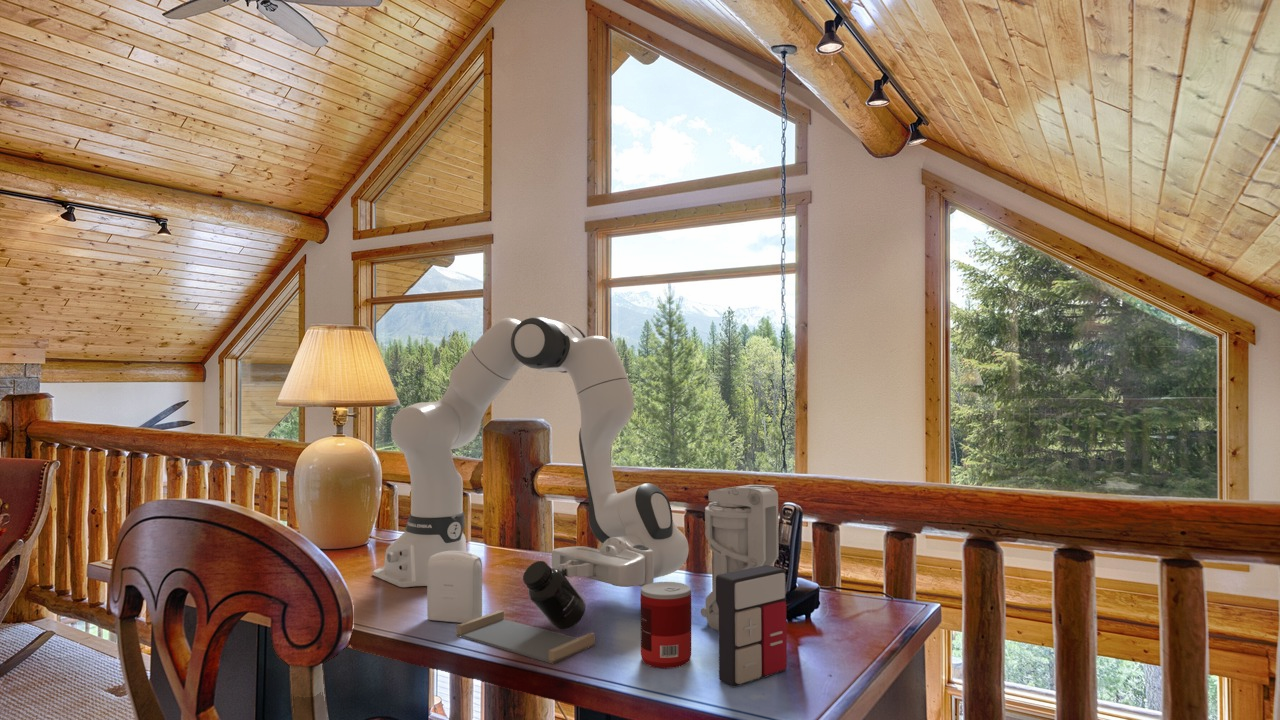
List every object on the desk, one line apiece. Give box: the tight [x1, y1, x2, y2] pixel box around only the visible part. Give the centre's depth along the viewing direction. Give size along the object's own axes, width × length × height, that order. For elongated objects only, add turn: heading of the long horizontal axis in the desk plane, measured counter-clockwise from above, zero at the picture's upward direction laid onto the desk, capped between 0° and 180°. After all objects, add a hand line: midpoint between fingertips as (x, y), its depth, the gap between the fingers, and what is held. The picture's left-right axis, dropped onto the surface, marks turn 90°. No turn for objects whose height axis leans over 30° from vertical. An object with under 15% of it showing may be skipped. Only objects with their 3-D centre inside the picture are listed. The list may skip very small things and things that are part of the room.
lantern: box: [700, 484, 780, 632], centre depth 130 cm, size 13×10×25 cm
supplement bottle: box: [522, 560, 587, 631], centre depth 126 cm, size 7×7×12 cm
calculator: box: [716, 565, 788, 688], centre depth 107 cm, size 11×4×15 cm, turn 126°
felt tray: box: [456, 609, 596, 665], centre depth 122 cm, size 22×10×2 cm, turn 55°
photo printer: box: [426, 551, 483, 624], centre depth 133 cm, size 10×4×12 cm, turn 74°
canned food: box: [640, 581, 692, 669], centre depth 113 cm, size 8×8×11 cm
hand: (562, 571), depth 127 cm, fingers closed, pressing on supplement bottle
